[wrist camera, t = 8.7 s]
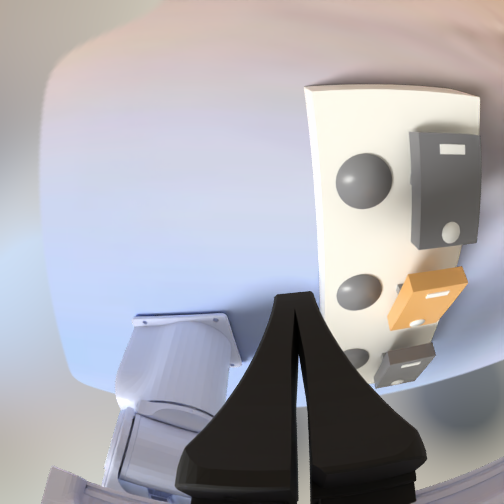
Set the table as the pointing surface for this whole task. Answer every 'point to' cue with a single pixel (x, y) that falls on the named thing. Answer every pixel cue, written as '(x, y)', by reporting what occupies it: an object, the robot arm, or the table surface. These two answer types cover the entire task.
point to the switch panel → (374, 206)
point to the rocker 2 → (426, 297)
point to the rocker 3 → (403, 365)
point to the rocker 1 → (445, 188)
